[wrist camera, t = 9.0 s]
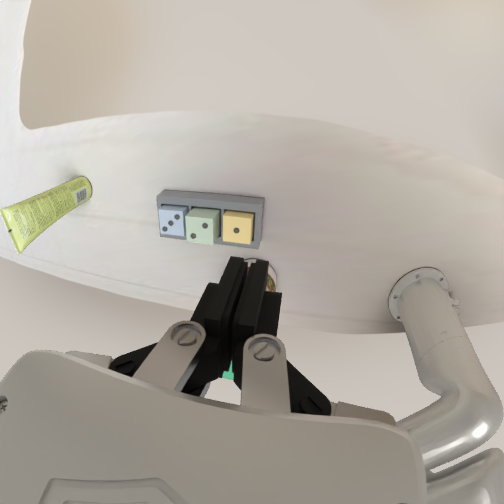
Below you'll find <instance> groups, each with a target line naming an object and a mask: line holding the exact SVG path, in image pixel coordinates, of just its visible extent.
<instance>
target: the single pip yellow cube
mask: <svg viewBox="0 0 504 504" xmlns="http://www.w3.org/2000/svg"><path fill="white" fill-rule="evenodd" d="M254 225H255V212H246V211H237V210H228V209H227V210H226V212H225V213H224V215H223V241H226V242H234V243H242V244H250V243H251V241H252V238H253V235H254Z"/></svg>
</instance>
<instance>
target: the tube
mask: <svg viewBox="0 0 504 504" xmlns="http://www.w3.org/2000/svg"><path fill="white" fill-rule="evenodd" d="M91 193H92V189H91V185H90V183H89V181H88V180H87V179H86V178H85V177H78V178H76V179H73V180H71V181H69V182H66V183H64V184H61V185H59V186H57V187H54V188H52V189H50V190H47V191H45V192H43V193H40V194H38V195H35V196H33V197H31V198H28V199H26V200H24V201H21V202H19V203H16V204H14V205H11V206H9V207H6V208H3V209H1V210H0V213H1V216H2V218H3V221H4V223H5V226H6V228H7V230H8V233H9V235H10V237H11V240H12V242H13V244H14V246H15V249H16V251H17V253H18V255H19V254H20V253H22V252H23V250H24V249H25V248H26V247H27V246H28V245H29V244H30V243H31V242H32V241H33V240H34V239H35V238H36V237H38V236H39V235H40V234H41V233H42V232H43V231H45V230H46V229H47V228H48V227H49V226H51V225H52V224H53V223H55V222H56V221H57V220H59V219H60V218H61V217H63V216H64V215H65V214H67V213H68V212H70V211H71V210H73V209H74V208H76V207H77V206H79V205H80V204H82V203H84V202H85V201H87V200H88V199H89V198H90V197H91Z"/></svg>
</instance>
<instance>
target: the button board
mask: <svg viewBox="0 0 504 504" xmlns="http://www.w3.org/2000/svg"><path fill="white" fill-rule="evenodd" d="M164 204H174V205H185V206H189V212H190V211H191V210H192V209H193V208H194V207H198V208H209V209H219V210H220V235H219V236H218V238H217V240H216V241H215V244H222V245H230V246H238V247H246V248H253V249H258V247H259V244H260V241H261V230H262V217H263V204H264V198H257V197H247V196H237V195H227V194H215V193H203V192H190V191H175V190H164V191H163V192H161V193H160V194H159V195H157V207H158V209H159V208H161V207H162V206H163V205H164ZM227 209H228V210H237V211H246V212H255V225H254V235H253V238H252V241H251V243H250V244H242V243H234V242H226V241H223V215H224V213H225V212H226V210H227ZM158 218H159V212H158ZM159 228H160V223H159ZM160 237H167V238H175V239H183V240H187V237H186V235H185V236H177V235H169V234H161V233H160Z"/></svg>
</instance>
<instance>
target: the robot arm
mask: <svg viewBox="0 0 504 504" xmlns="http://www.w3.org/2000/svg"><path fill="white" fill-rule="evenodd" d="M268 268H269V261H263V260H256V263H253V262H251V265H250V268H249V271H248V262H245V261H244V258H240V257H233V256H231V257H230V259H229V262H228V264H227V266H226V268H225V271H224V273H223V275H222V277H221V280H220V282H219V284H217V283H208V285H207V287H206V289H205V291H204V293H203V295H202V297H201V299H200V301H199V303H198V305H197V307H196V309H195V311H194V314H193V316H192V318H191V320H190V321H181V322H177V323H175V324H174V325H172V326H171V327H170V328H169V329H168V330H167V332H166V333H165V334H164V336H163V337H162V338H161V340H160V341H159V342H157V343H155V344H152V345H149V346H146V347H144V348H141V349H138V350H136V351H133V352H130V353H127V354H124V355H121V356H119V357H117V358H115V359H112V357H111V356H105V355H98V354H91V353H85V352H78V351H69V352H66V353H63V352H58V351H52V350H35V351H30V352H28V353H26V354H25V355H23V356H22V357H21V358H20V359H19V360H18V361H17V362H16V363H15V364H14V365H13V366H12V368H11V369H10V370H9V371H8V373H7V374H6V375H5V377H4V378H3V379H2V381H1V382H0V504H504V453H503V452H502V450H500V449H499V448H491V449H488V450H485V451H483V452H481V453H479V454H477V455H475V456H473V457H471V458H468V459H466V460H464V461H462V462H460V463H458V464H456V465H454V466H452V467H449V468H447V469H445V470H442V471H440V472H437V473H432V472H431V471H430V469H433V468H435V467H438V466H440V465H442V464H444V463H447V462H450V461H452V460H454V459H456V458H458V457H460V456H462V455H464V454H466V453H468V452H470V451H472V450H474V449H476V448H477V447H479V446H481V445H482V444H484V443H485V442H486V441H487V440H489V439H490V438H491V437H492V436H493V435H494V434H495V433H496V431H497V430H498V429H499V427H500V425H501V423H502V420H503V406H502V403H501V400H500V398H499V395H498V394H497V392H496V390H495V388H494V387H493V385H492V383H491V381H490V380H489V378H488V376H487V375H486V373H485V371H484V369H483V367H482V365H481V363H480V361H479V359H478V357H477V355H476V353H475V351H474V349H473V346H472V344H471V342H470V340H469V338H468V336H467V333H466V331H465V329H464V327H463V325H462V323H461V321H460V319H459V317H458V314H459V309H458V308H453V306H458V305H459V299H456V298H453V299H452V298H451V297H450V296H449V294H448V282H447V280H446V278H445V276H444V275H443V274H442V273H441V272H440V271H439V270H437V269H434V268H420V269H417V270H414V271H412V272H410V273H408V274H407V275H405V276H404V277H403V278H401V279H400V280H399V281H398V282H397V283H396V285H395V286H394V288H393V289H392V291H391V293H390V297H389V309H390V312H391V314H392V316H393V317H394V318H395V319H396V320H398V321H400V322H402V323H403V325H404V328H405V331H406V335H407V338H408V341H409V344H410V347H411V351H412V354H413V357H414V361H415V365H416V368H417V372H418V376H419V379H420V381H421V383H422V384H423V386H424V387H425V388H427V389H428V390H429V391H431V392H433V393H436V394H438V395H440V396H441V398H440V399H439V400H437V401H435V402H434V403H432V404H431V405H430V406H427V407H425V408H424V409H422V410H420V411H418V412H416V413H414V414H412V415H410V416H408V417H406V418H404V419H402V420H400V421H398V422H395V420H394V418H393V417H392V416H391V415H390V414H389V413H386V412H384V411H379V410H374V409H370V408H365V407H360V406H356V405H352V404H348V403H344V402H340V401H339V402H338V403H334V402H330V401H329V400H328V399H327V397H326V396H325V395H324V394H323V393H322V392H320V391H319V390H318V389H317V388H316V387H315V386H314V385H313V384H312V383H311V382H310V381H308V379H306V378H305V377H304V376H303V375H302V374H301V373H300V372H299V371H298V370H297V369H296V368H295V367H294V366H293V365H292V364H291V363H290V362H289V361H288V360H287V359H286V351H285V347H284V344H283V343H282V342H281V340H280V339H278V338H277V337H276V336H277V328H278V321H279V313H280V306H281V298H282V293H279V292H271V291H266V287H267V277H268ZM247 272H248V274H247ZM231 361H232V373H234V382H235V384H236V385H237V386H238V387H239V389H240V390H241V405H235V404H230V403H225V402H220V401H215V400H211V399H206V398H204V396H205V394H206V393H207V391H208V389H209V386H210V382H211V381H213V380H215V379H217V378H218V377H219V378H222V376H223V373H224V371H225V372H228V371H229V369H230V365H231Z"/></svg>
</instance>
